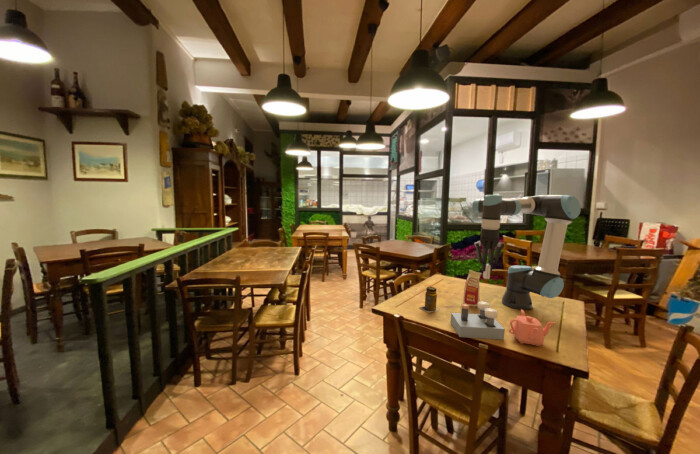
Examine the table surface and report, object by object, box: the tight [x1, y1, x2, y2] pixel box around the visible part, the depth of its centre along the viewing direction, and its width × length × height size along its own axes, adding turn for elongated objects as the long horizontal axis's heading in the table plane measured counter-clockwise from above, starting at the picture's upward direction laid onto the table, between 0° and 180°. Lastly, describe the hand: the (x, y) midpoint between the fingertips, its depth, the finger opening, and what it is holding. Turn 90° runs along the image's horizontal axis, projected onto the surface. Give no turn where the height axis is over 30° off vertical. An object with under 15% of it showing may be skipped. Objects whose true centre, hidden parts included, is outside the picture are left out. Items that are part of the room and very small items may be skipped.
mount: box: [450, 312, 506, 341], centre depth 127 cm, size 19×14×5 cm
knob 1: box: [477, 301, 491, 319], centre depth 130 cm, size 5×5×8 cm
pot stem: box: [460, 303, 470, 321], centre depth 127 cm, size 3×3×7 cm
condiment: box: [419, 286, 440, 314], centre depth 150 cm, size 7×8×12 cm
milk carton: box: [462, 269, 483, 308], centre depth 159 cm, size 9×9×20 cm
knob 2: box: [485, 307, 498, 327], centre depth 122 cm, size 5×5×8 cm
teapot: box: [508, 309, 556, 346], centre depth 119 cm, size 14×14×11 cm
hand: (486, 277), depth 128 cm, fingers closed
